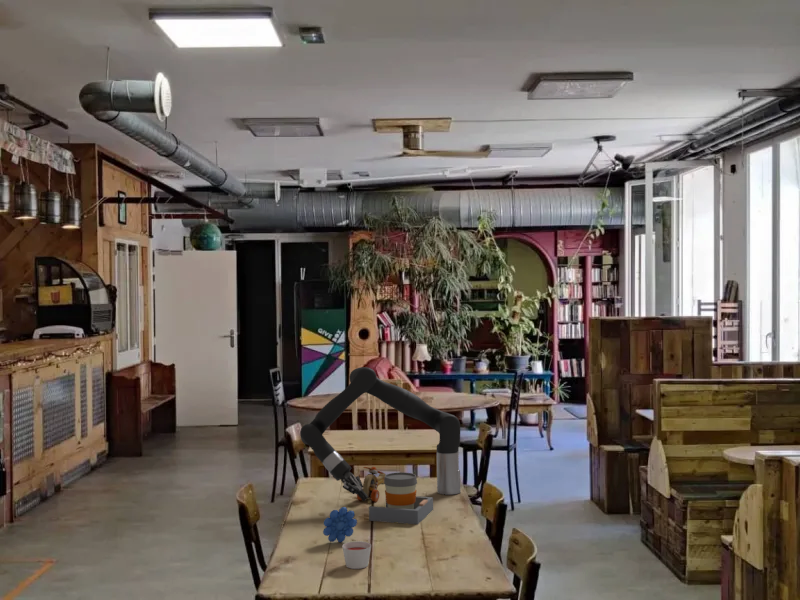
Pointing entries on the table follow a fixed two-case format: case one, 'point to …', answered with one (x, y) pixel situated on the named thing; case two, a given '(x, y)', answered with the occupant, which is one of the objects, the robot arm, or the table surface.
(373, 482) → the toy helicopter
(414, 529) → the table surface
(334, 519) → the grapes
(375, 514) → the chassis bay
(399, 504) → the reusable coffee cup
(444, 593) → the table surface
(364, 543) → the candle
